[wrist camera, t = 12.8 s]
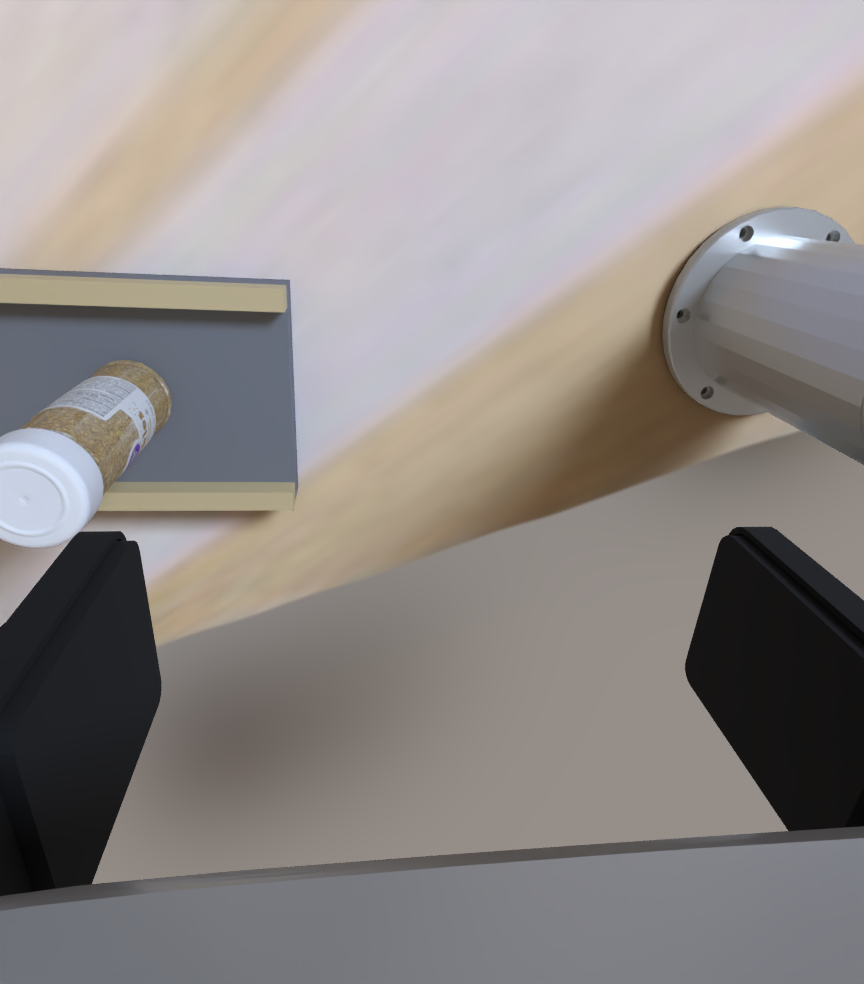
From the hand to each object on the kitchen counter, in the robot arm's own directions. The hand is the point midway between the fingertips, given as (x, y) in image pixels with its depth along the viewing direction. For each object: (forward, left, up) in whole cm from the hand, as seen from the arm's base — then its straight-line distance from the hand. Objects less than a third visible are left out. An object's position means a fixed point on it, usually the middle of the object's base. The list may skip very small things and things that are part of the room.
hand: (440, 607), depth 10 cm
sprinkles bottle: (+14, +5, -28) cm, 32 cm away
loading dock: (+14, +6, -30) cm, 34 cm away
